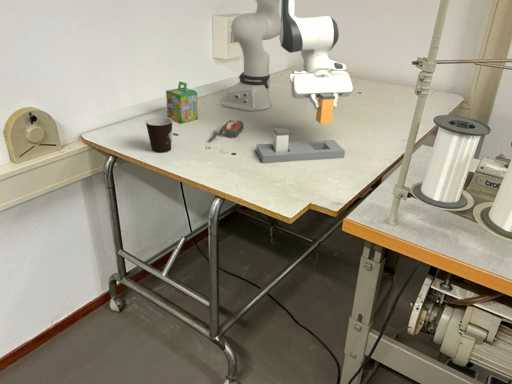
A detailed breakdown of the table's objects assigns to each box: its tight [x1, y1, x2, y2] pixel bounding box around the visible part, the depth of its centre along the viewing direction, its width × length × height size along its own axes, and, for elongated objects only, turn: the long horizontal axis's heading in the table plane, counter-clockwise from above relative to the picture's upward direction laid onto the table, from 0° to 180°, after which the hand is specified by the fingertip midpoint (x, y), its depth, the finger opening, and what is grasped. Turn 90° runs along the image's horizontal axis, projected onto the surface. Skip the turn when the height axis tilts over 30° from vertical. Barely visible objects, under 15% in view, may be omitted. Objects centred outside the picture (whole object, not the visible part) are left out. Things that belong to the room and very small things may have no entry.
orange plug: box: [315, 93, 335, 125], centre depth 133 cm, size 4×4×9 cm
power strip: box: [255, 139, 346, 164], centre depth 139 cm, size 28×10×2 cm, turn 102°
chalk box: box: [165, 81, 199, 124], centre depth 165 cm, size 9×9×15 cm
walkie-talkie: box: [208, 119, 244, 143], centre depth 153 cm, size 9×4×20 cm
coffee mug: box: [145, 116, 173, 154], centre depth 139 cm, size 12×9×10 cm
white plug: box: [272, 127, 290, 153], centre depth 136 cm, size 4×4×9 cm
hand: (325, 108), depth 133 cm, fingers closed on orange plug, 4 cm apart
